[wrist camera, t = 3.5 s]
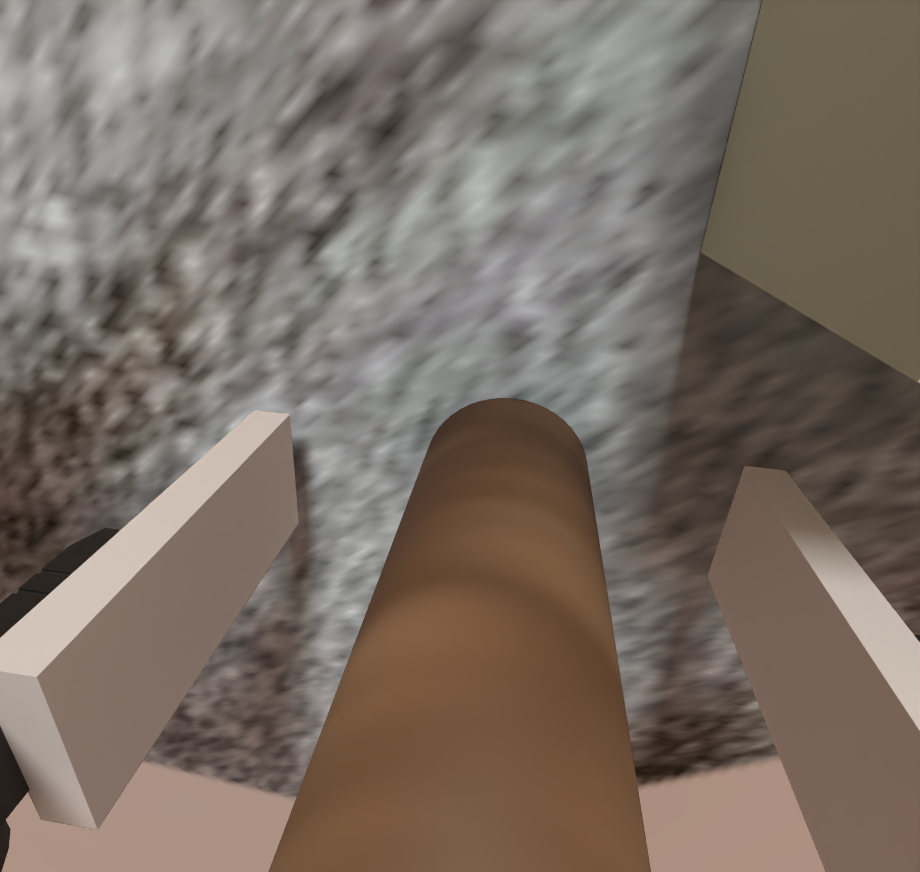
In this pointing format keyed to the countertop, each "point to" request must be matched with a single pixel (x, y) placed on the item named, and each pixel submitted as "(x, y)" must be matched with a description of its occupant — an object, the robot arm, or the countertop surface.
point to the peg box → (830, 171)
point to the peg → (481, 677)
